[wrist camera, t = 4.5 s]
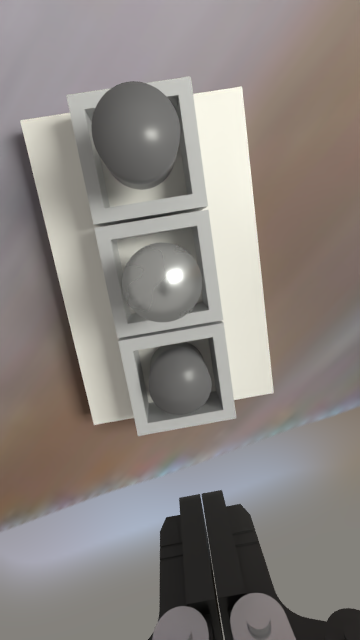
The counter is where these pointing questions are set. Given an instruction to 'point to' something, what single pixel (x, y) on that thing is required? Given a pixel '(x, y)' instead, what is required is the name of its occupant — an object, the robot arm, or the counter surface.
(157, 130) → the charcoal knob
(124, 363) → the panel
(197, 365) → the charcoal knob
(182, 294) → the steel knob
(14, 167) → the counter surface
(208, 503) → the robot arm
